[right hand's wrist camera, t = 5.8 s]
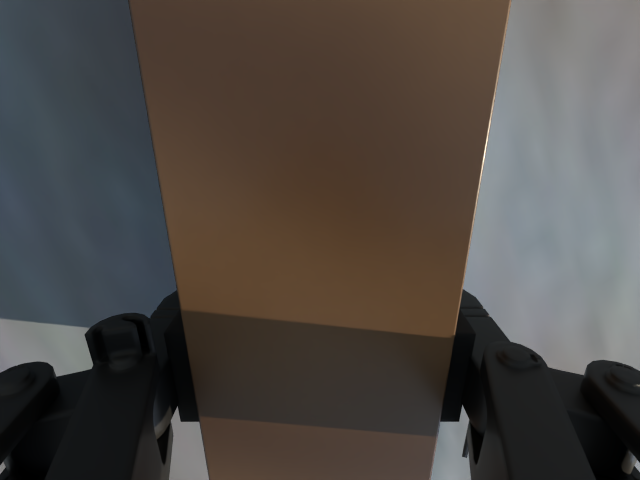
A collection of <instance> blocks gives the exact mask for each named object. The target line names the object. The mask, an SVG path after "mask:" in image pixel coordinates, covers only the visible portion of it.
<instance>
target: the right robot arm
mask: <svg viewBox="0 0 640 480" xmlns="http://www.w3.org/2000/svg"><path fill="white" fill-rule="evenodd" d="M85 338H86V341H87V345H88V348H89V351H90V355H91V358H92V361H93V367H92V369H90V370H86V371H82V372H77V373H72V374H67V375H63V376H58V377H56V374H55V372H54V369H53V367H52V366H51V365H50V364H48V363H46V362H31V363H24V364H20V365H18V366H14V367H11V368H9V369H7V370H5V371H3V372H1V373H0V465H1V464H2V462H4V464H5V466H6V468H5V469H4V470H3V472H2V473H1V474H0V480H169V473H170V463H171V453H172V443H173V430H172V424H171V419H172V417H173V414H174V412H175V410H176V408H177V406H178V410H179V415H180V420H181V422H199V416H198V410H197V404H196V398H195V393H194V387H193V381H192V375H191V369H190V363H189V357H188V351H187V345H186V339H185V333H184V327H183V322H182V316H181V310H180V304H179V298H178V292H177V291H175V292H174V293H172V294H171V295H169V296H168V297H166V298H164V300H163V301H162V302H161V304H160V305H159V306H158V307H157V310H155V311H154V313H153V314H152V315H151V318H148V317H146V316H145V315H143V314H138V313H124V314H120V315H116V316H112V317H109V318H107V319H104V320H102V321H100V322H98V323H97V324H95V325H94V326H92V327H91V328H90V329H89V330H88V331H87V332H86V334H85ZM462 404H463V407H464V409H465V411H466V413H467V415H468V417H469V424H468V429H467V434H466V439H465V444H464V448H463V454H462V457H466V458H467V455H468V452H469V462H470V472H471V480H640V472H639V471H638V470H637V468H636V467H635V466H634V465H635V463H636V461H637V460H638V461H639V462H640V371H638V370H636V369H634V368H633V367H631V366H628V365H626V364H622V363H619V362H614V361H607V360H598V361H592V362H591V363H590V364H588V365H587V368H586V371H585V374H584V375H580V374H575V373H570V372H566V371H561V370H556V369H552V368H549V367H548V366H547V364H546V363H545V361H544V360H543V359H542V357H541V356H539V355H538V354H537V353H535V352H534V351H533V350H531V349H529V348H527V347H525V346H523V345H521V344H517V343H513V342H510V341H509V339H508V338H507V337H506V336H505V334H504V333H503V332H502V330H501V329H500V328H499V327H498V325H497V324H496V323H495V322H494V320H493V319H492V318H491V317H489V314H488V313H487V311H486V310H485V309H483V306H482V305H481V304H480V302H479V301H478V300H477V298H476V297H474V296H473V295H471V294H470V293H468V292H466V291H465V290H462V296H461V302H460V308H459V313H458V319H457V325H456V331H455V337H454V343H453V349H452V355H451V361H450V367H449V373H448V379H447V384H446V390H445V396H444V402H443V408H442V414H441V420H440V422H459V419H460V414H461V409H462Z"/></svg>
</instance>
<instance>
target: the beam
mask: <svg viewBox="0 0 640 480" xmlns="http://www.w3.org/2000/svg"><path fill="white" fill-rule="evenodd" d="M128 2H129V8H130V14H131V20H132V26H133V32H134V38H135V44H136V49H137V55H138V61H139V67H140V73H141V79H142V85H143V91H144V97H145V103H146V109H147V115H148V120H149V126H150V132H151V138H152V144H153V150H154V156H155V162H156V168H157V174H158V180H159V186H160V191H161V197H162V203H163V209H164V215H165V221H166V227H167V233H168V239H169V245H170V251H171V256H172V262H173V268H174V274H175V280H176V286H177V292H178V298H179V304H180V310H181V316H182V322H183V327H184V333H185V339H186V345H187V351H188V357H189V363H190V369H191V375H192V381H193V387H194V393H195V398H196V404H197V410H198V416H199V422H200V428H201V434H202V440H203V446H204V452H205V458H206V464H207V469H208V475H209V480H430V479H431V473H432V467H433V461H434V456H435V450H436V444H437V438H438V432H439V426H440V420H441V414H442V408H443V402H444V396H445V390H446V384H447V379H448V373H449V367H450V361H451V355H452V349H453V343H454V337H455V331H456V325H457V319H458V313H459V308H460V302H461V296H462V290H463V284H464V278H465V272H466V266H467V260H468V254H469V248H470V242H471V237H472V231H473V225H474V219H475V213H476V207H477V201H478V195H479V189H480V183H481V177H482V171H483V165H484V160H485V154H486V148H487V142H488V136H489V130H490V124H491V118H492V112H493V106H494V100H495V94H496V89H497V83H498V77H499V71H500V65H501V59H502V53H503V47H504V41H505V35H506V29H507V23H508V18H509V12H510V6H511V0H128Z"/></svg>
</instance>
